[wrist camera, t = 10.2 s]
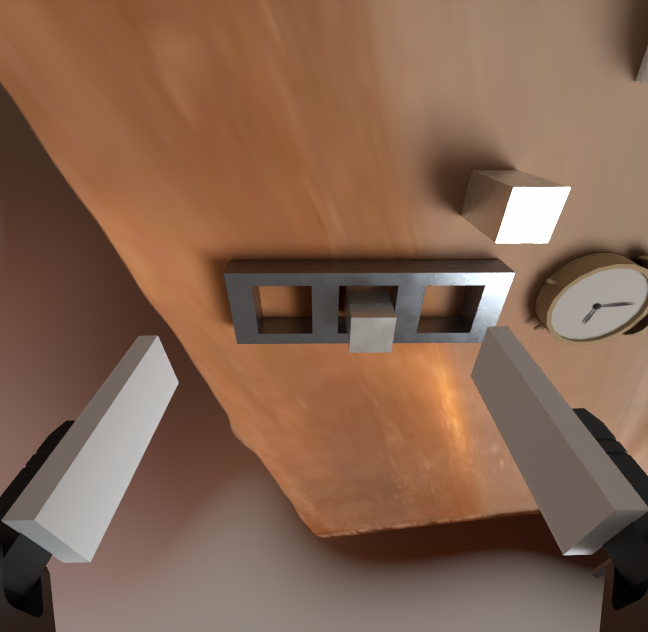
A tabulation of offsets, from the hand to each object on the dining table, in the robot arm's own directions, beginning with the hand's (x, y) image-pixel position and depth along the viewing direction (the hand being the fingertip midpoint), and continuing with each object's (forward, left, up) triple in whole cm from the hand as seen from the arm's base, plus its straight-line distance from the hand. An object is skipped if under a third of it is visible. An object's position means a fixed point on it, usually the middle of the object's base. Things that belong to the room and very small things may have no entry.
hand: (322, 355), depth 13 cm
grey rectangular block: (+11, +5, -24) cm, 27 cm away
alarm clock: (+11, +34, -24) cm, 43 cm away
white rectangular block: (-1, +17, -24) cm, 29 cm away
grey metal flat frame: (+11, +5, -24) cm, 27 cm away
